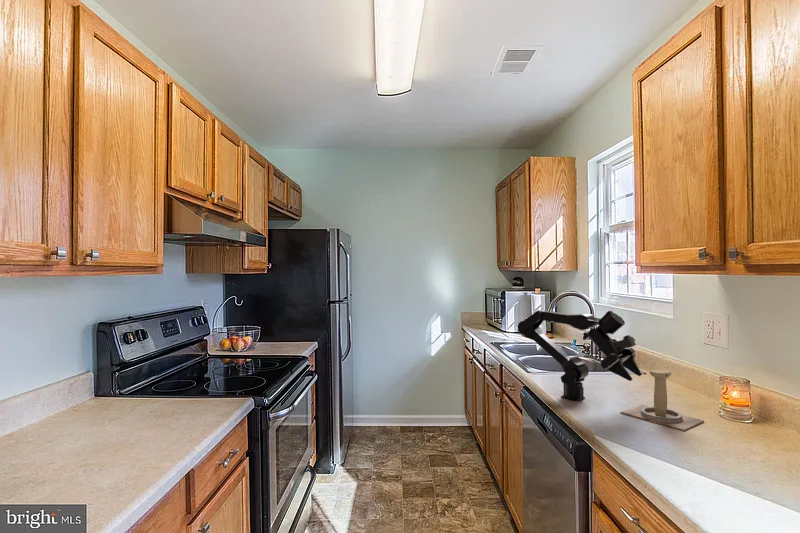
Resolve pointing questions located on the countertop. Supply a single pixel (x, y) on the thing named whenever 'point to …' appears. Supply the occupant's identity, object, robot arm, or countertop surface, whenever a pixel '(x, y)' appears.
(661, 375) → the handle
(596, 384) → the countertop surface
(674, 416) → the socket board
